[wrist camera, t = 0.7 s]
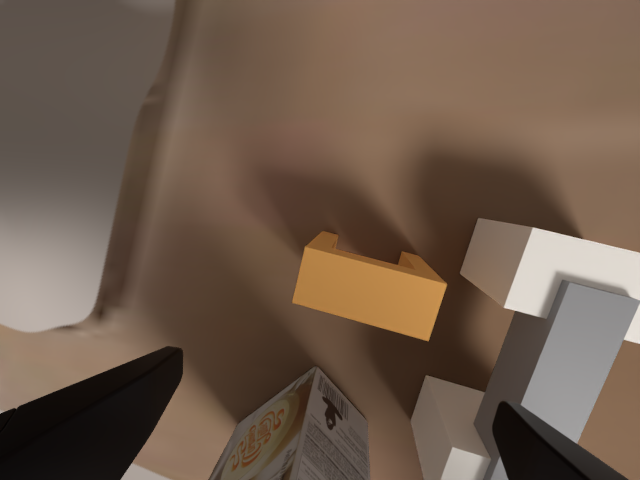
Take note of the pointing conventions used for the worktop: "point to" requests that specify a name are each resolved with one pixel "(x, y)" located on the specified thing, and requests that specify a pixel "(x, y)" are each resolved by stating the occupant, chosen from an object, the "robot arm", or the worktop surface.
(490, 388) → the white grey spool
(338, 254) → the orange u-channel
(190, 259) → the worktop surface
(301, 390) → the coffee box
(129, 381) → the robot arm
